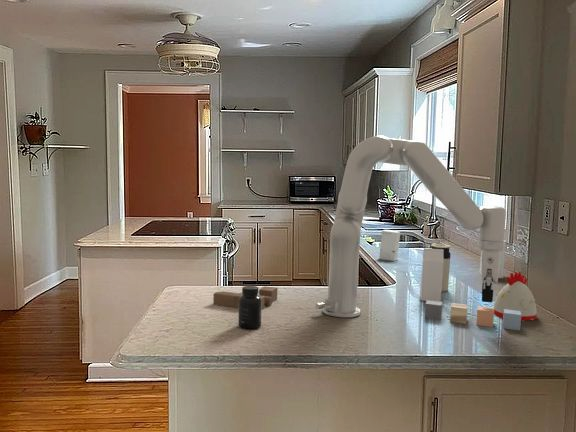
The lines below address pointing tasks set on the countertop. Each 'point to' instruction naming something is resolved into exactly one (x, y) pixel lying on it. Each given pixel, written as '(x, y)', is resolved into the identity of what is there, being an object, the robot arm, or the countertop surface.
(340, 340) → the countertop surface
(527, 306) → the kitchen timer
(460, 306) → the maple block
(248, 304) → the supplement bottle
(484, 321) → the terracotta block
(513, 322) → the slate block
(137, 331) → the countertop surface
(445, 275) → the travel mug
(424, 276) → the milk carton
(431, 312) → the charcoal block
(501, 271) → the supplement box
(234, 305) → the wooden block set
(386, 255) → the skincare box
